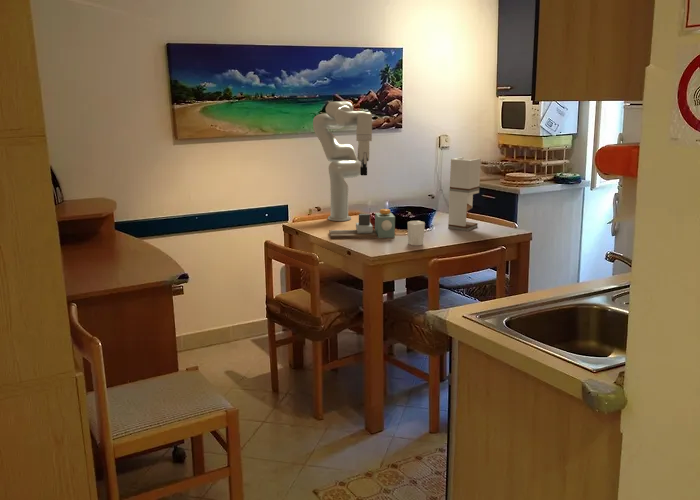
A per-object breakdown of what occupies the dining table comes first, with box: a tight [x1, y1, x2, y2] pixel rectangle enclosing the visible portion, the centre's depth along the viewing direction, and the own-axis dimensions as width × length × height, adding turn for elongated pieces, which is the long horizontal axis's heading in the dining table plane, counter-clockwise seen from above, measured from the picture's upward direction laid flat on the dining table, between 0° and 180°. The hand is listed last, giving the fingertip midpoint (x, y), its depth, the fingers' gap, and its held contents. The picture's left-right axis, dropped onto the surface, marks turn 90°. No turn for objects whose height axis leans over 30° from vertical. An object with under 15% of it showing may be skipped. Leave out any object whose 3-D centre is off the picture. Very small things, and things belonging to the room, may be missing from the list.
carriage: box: [355, 213, 374, 233], centre depth 318 cm, size 9×7×9 cm
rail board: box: [328, 229, 378, 240], centre depth 318 cm, size 12×22×3 cm, turn 96°
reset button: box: [379, 208, 391, 214], centre depth 317 cm, size 5×5×2 cm
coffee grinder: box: [447, 157, 482, 232], centre depth 334 cm, size 11×11×35 cm
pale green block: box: [374, 212, 396, 239], centre depth 319 cm, size 11×8×10 cm
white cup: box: [407, 220, 426, 246], centre depth 302 cm, size 8×8×10 cm
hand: (363, 175), depth 328 cm, fingers closed
